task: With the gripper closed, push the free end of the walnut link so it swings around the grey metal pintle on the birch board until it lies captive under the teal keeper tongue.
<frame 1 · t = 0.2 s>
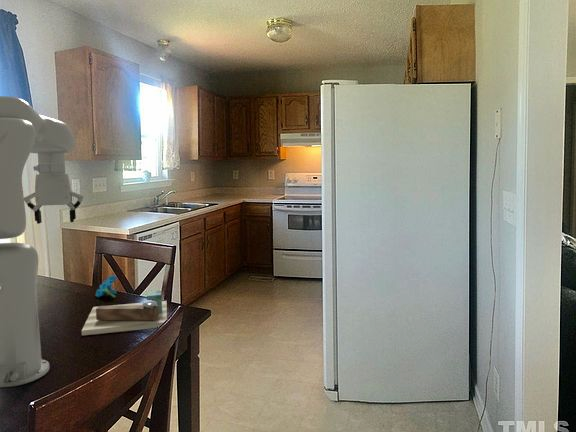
hand: (55, 222, 143), 31 cm above the table, fingers open, 9 cm apart
keeper: (159, 314, 145), resting on board
gear: (106, 296, 167), on the table
board: (128, 318, 142), on the table
link: (127, 312, 136), point 4 cm above the table, hinge at 75.0°
pintle: (150, 323, 137), resting on board
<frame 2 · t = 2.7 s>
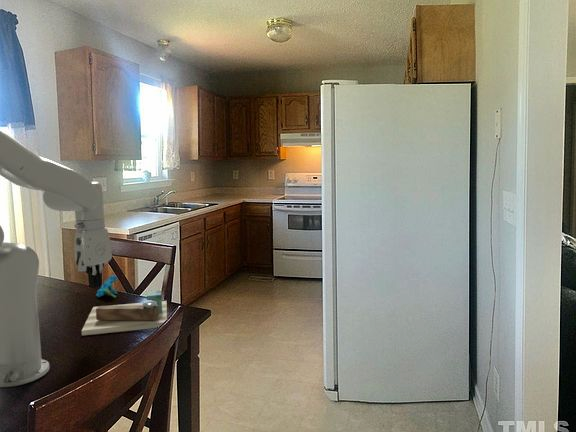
hand: (95, 286, 128), 14 cm above the table, fingers closed
nothing on the table moved.
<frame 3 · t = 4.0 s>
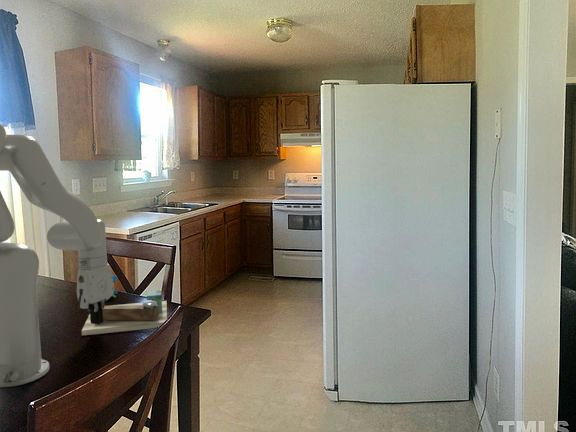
hand: (97, 322, 129), 3 cm above the table, fingers closed
nothing on the table moved.
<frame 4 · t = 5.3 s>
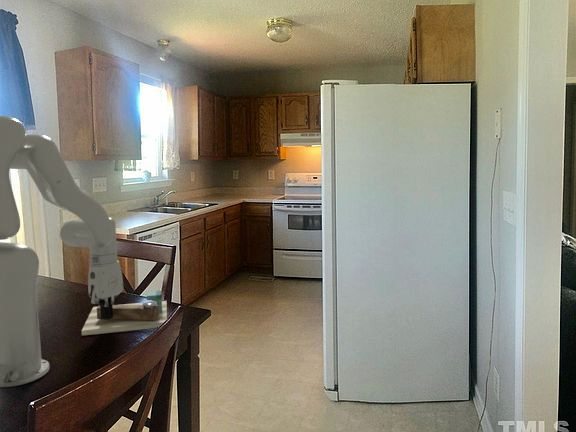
hand: (107, 318, 133), 3 cm above the table, fingers closed
link: (127, 312, 136), point 4 cm above the table, hinge at 72.5°, touching gripper
everything else where it was.
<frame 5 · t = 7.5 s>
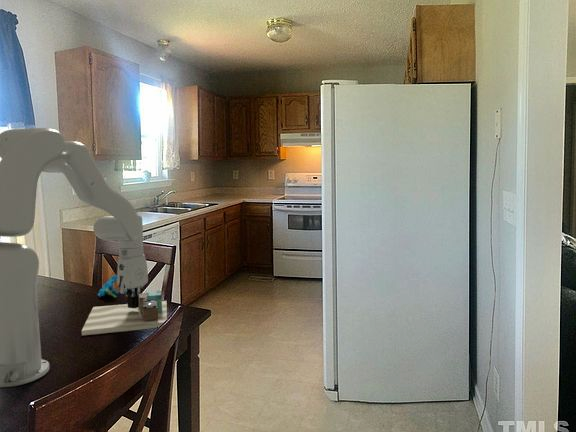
hand: (133, 307, 144), 3 cm above the table, fingers closed
link: (146, 305, 142), point 4 cm above the table, hinge at 10.0°, touching gripper
everything else where it was.
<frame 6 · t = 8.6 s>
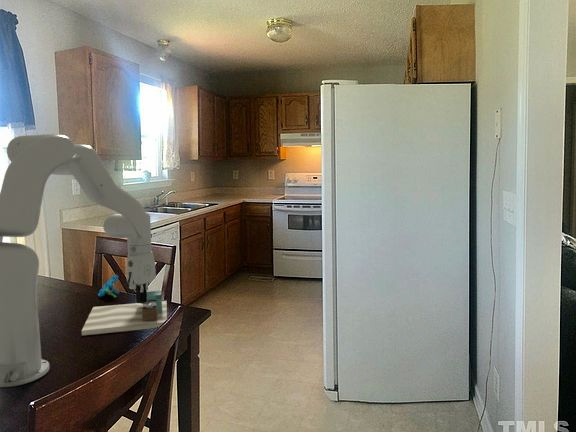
hand: (141, 302, 149), 3 cm above the table, fingers closed
link: (151, 305, 143), point 4 cm above the table, hinge at -2.1°, touching gripper
everything else where it was.
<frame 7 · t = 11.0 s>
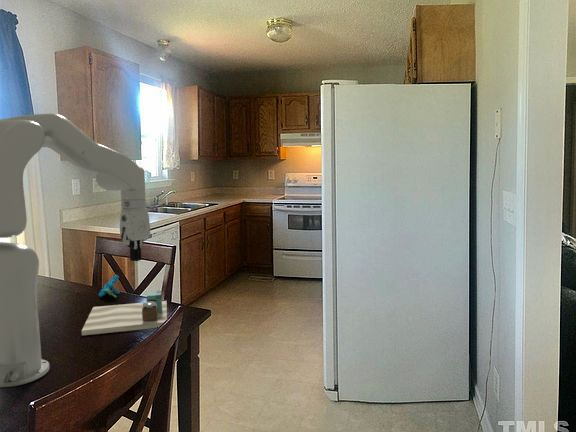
hand: (135, 260, 145), 18 cm above the table, fingers closed
link: (151, 305, 143), point 4 cm above the table, hinge at -2.2°, touching keeper
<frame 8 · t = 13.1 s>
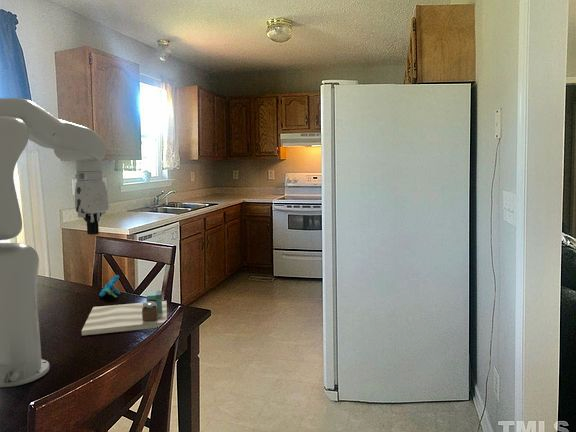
hand: (93, 233, 142), 27 cm above the table, fingers closed
at the end: link at -2° (first picture: +75°) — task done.
